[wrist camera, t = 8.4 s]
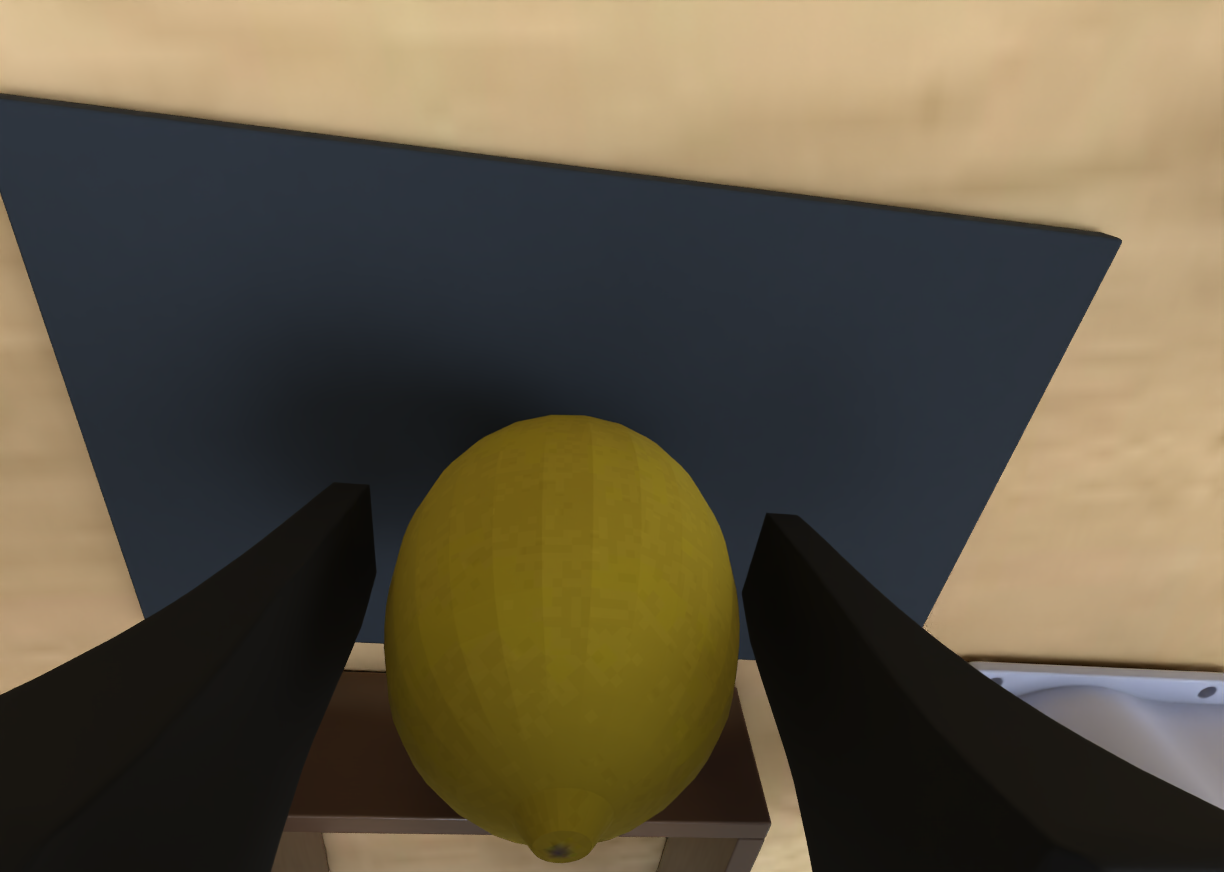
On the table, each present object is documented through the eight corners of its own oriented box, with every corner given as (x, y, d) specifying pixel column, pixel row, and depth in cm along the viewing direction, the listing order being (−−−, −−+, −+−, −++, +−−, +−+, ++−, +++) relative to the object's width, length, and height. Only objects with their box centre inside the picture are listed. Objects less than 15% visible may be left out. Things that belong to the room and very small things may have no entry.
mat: (1102, 232, 13) (1125, 239, 12) (893, 650, 19) (902, 667, 18) (-6, 91, 10) (-36, 94, 10) (161, 616, 16) (148, 634, 16)
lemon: (512, 295, 12) (431, 612, 5) (743, 423, 14) (914, 791, 7) (398, 502, 14) (235, 913, 7) (608, 590, 16) (635, 992, 9)
